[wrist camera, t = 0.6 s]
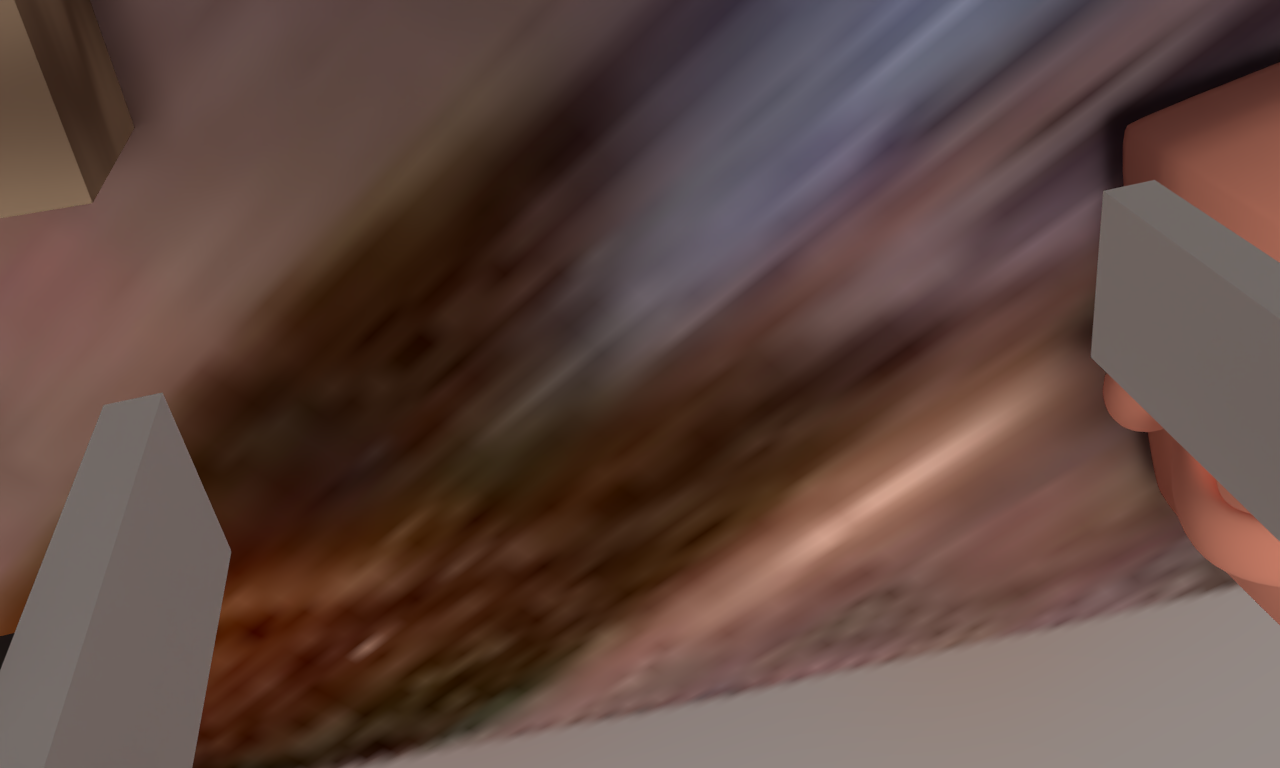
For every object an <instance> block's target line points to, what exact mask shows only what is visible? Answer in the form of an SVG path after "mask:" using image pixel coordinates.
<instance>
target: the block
mask: <svg viewBox="0 0 1280 768" xmlns="http://www.w3.org/2000/svg"><path fill="white" fill-rule="evenodd" d="M133 130H134V125H133V122H132V119H131V116H130V114H129V111H128V108H127V105H126V102H125V99H124V96H123V94H122V91H121V88H120V85H119V82H118V79H117V77H116V74H115V71H114V68H113V65H112V62H111V59H110V57H109V54H108V51H107V48H106V45H105V42H104V40H103V37H102V34H101V31H100V28H99V25H98V22H97V20H96V17H95V14H94V11H93V8H92V5H91V3H90V0H0V218H5V217H11V216H18V215H24V214H30V213H36V212H42V211H48V210H54V209H60V208H66V207H72V206H78V205H84V204H90V203H93V201H94V200H95V198H96V196H97V194H98V192H99V191H100V189H101V187H102V185H103V183H104V182H105V180H106V178H107V176H108V174H109V173H110V171H111V169H112V167H113V165H114V164H115V162H116V160H117V158H118V157H119V155H120V153H121V151H122V149H123V148H124V146H125V144H126V142H127V140H128V139H129V137H130V135H131V133H132V131H133Z"/></svg>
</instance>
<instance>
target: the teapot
mask: <svg viewBox="0 0 1280 768" xmlns="http://www.w3.org/2000/svg"><path fill="white" fill-rule="evenodd" d="M1152 180H1156V181H1157V182H1159V183H1160V184H1162V185H1163V186H1165V187H1166V188H1168V189H1169V190H1171V191H1172V192H1174V193H1175V194H1177V195H1178V196H1180V197H1181V198H1183V199H1184V200H1186V201H1187V202H1189V203H1190V204H1192V205H1193V206H1195V207H1196V208H1198V209H1199V210H1201V211H1202V212H1204V213H1205V214H1207V215H1208V216H1210V217H1211V218H1213V219H1214V220H1216V221H1217V222H1219V223H1220V224H1222V225H1223V226H1225V227H1226V228H1228V229H1229V230H1231V231H1233V232H1234V233H1236V234H1237V235H1239V236H1240V237H1242V238H1243V239H1245V240H1246V241H1248V242H1249V243H1251V244H1252V245H1254V246H1255V247H1257V248H1258V249H1260V250H1261V251H1263V252H1264V253H1266V254H1267V255H1269V256H1270V257H1272V258H1273V259H1275V260H1276V261H1278V262H1279V263H1280V62H1279V63H1276V64H1274V65H1271V66H1269V67H1266V68H1264V69H1261V70H1258V71H1256V72H1253V73H1251V74H1248V75H1246V76H1243V77H1241V78H1238V79H1236V80H1233V81H1231V82H1228V83H1226V84H1223V85H1221V86H1218V87H1216V88H1213V89H1211V90H1208V91H1206V92H1203V93H1201V94H1198V95H1196V96H1193V97H1190V98H1188V99H1186V100H1183V101H1181V102H1179V103H1176V104H1174V105H1171V106H1169V107H1167V108H1164V109H1162V110H1159V111H1157V112H1155V113H1152V114H1150V115H1147V116H1145V117H1143V118H1141V119H1139V120H1137V121H1135V122H1133V123H1131V124H1129V125H1127V127H1126V129H1125V132H1124V140H1123V185H1124V186H1128V185H1133V184H1138V183H1142V182H1147V181H1152ZM1103 397H1104V402H1105V405H1106V408H1107V410H1108V412H1109V414H1110V415H1111V417H1112V418H1113V419H1114V420H1115V421H1116V422H1118V423H1119V424H1120V425H1121V426H1123V427H1125V428H1127V429H1130V430H1133V431H1138V432H1148V438H1149V444H1150V449H1151V455H1152V461H1153V466H1154V472H1155V476H1156V480H1157V484H1158V487H1159V490H1160V492H1161V494H1162V495H1163V497H1164V498H1165V500H1166V501H1167V503H1168V504H1169V506H1170V507H1171V508H1172V510H1173V511H1174V512H1175V514H1176V515H1177V516H1178V518H1179V520H1180V523H1181V525H1182V527H1183V529H1184V532H1185V533H1186V535H1187V536H1188V538H1189V540H1190V541H1191V543H1192V544H1193V546H1194V547H1195V548H1196V549H1197V550H1198V551H1199V552H1200V553H1201V554H1202V555H1203V556H1204V557H1205V558H1206V559H1207V560H1208V561H1210V562H1211V563H1212V564H1213V565H1215V566H1217V567H1218V568H1220V569H1222V570H1224V571H1225V572H1227V573H1228V574H1229V575H1230V576H1231V577H1232V578H1233V579H1234V580H1235V581H1236V582H1237V583H1238V584H1239V585H1240V586H1241V587H1242V588H1243V589H1244V590H1245V591H1246V592H1247V593H1248V594H1249V595H1250V596H1251V597H1252V598H1253V599H1254V600H1255V601H1256V602H1257V603H1258V604H1259V605H1260V606H1261V607H1262V608H1263V609H1264V610H1265V611H1266V612H1267V613H1268V614H1269V615H1270V616H1271V617H1272V618H1273V619H1274V620H1275V621H1276V622H1277V623H1278V624H1279V625H1280V541H1279V540H1277V539H1276V538H1275V537H1274V536H1273V535H1272V534H1271V533H1270V532H1269V531H1268V530H1267V529H1266V528H1265V527H1264V526H1263V525H1262V524H1261V523H1260V522H1259V521H1258V520H1257V519H1256V518H1255V517H1254V516H1253V515H1252V514H1251V513H1250V512H1249V511H1248V510H1247V509H1246V508H1245V507H1244V506H1243V505H1242V504H1241V503H1240V502H1239V501H1238V500H1237V499H1236V498H1234V497H1233V496H1232V495H1231V494H1230V493H1229V492H1228V491H1227V490H1226V489H1225V488H1224V487H1223V486H1222V485H1221V484H1220V483H1219V482H1218V481H1217V480H1216V479H1215V478H1214V477H1213V476H1212V475H1211V474H1210V473H1209V472H1208V471H1207V470H1206V469H1205V468H1204V467H1203V466H1202V465H1201V464H1200V463H1199V462H1198V461H1197V460H1196V459H1195V458H1194V457H1192V456H1191V455H1190V454H1189V453H1188V452H1187V451H1186V450H1185V449H1184V448H1183V447H1182V446H1181V445H1180V444H1179V443H1178V442H1177V441H1176V440H1175V439H1174V438H1173V437H1172V436H1171V435H1170V434H1169V433H1168V432H1167V431H1166V430H1165V429H1164V428H1163V427H1162V426H1161V425H1160V424H1159V423H1158V422H1157V421H1156V420H1155V419H1154V418H1153V417H1152V416H1151V415H1149V414H1148V413H1147V412H1146V411H1145V410H1144V409H1143V408H1142V407H1141V406H1140V405H1139V404H1138V403H1137V402H1136V401H1135V400H1134V399H1133V398H1132V397H1131V396H1130V395H1129V394H1128V393H1127V392H1126V391H1125V390H1124V389H1123V388H1122V387H1121V386H1120V385H1119V384H1118V383H1117V382H1116V381H1115V380H1114V379H1113V378H1112V377H1111V376H1110V375H1109V374H1108V373H1106V375H1105V378H1104V385H1103Z"/></svg>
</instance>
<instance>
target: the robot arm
mask: <svg viewBox="0 0 1280 768" xmlns="http://www.w3.org/2000/svg"><path fill="white" fill-rule="evenodd" d="M1091 358H1092V359H1093V360H1094V361H1095V362H1096V363H1097V364H1098V365H1099V366H1100V367H1101V368H1102V369H1103V370H1104V371H1105V372H1106V373H1108V374H1109V375H1110V376H1111V377H1112V378H1113V379H1114V380H1115V381H1116V382H1117V383H1118V384H1119V385H1120V386H1121V387H1122V388H1123V389H1124V390H1125V391H1126V392H1127V393H1128V394H1129V395H1130V396H1131V397H1132V398H1133V399H1134V400H1135V401H1136V402H1137V403H1138V404H1139V405H1140V406H1141V407H1142V408H1143V409H1144V410H1145V411H1146V412H1147V413H1148V414H1149V415H1151V416H1152V417H1153V418H1154V419H1155V420H1156V421H1157V422H1158V423H1159V424H1160V425H1161V426H1162V427H1163V428H1164V429H1165V430H1166V431H1167V432H1168V433H1169V434H1170V435H1171V436H1172V437H1173V438H1174V439H1175V440H1176V441H1177V442H1178V443H1179V444H1180V445H1181V446H1182V447H1183V448H1184V449H1185V450H1186V451H1187V452H1188V453H1189V454H1190V455H1191V456H1192V457H1194V458H1195V459H1196V460H1197V461H1198V462H1199V463H1200V464H1201V465H1202V466H1203V467H1204V468H1205V469H1206V470H1207V471H1208V472H1209V473H1210V474H1211V475H1212V476H1213V477H1214V478H1215V479H1216V480H1217V481H1218V482H1219V483H1220V484H1221V485H1222V486H1223V487H1224V488H1225V489H1226V490H1227V491H1228V492H1229V493H1230V494H1231V495H1232V496H1233V497H1234V498H1236V499H1237V500H1238V501H1239V502H1240V503H1241V504H1242V505H1243V506H1244V507H1245V508H1246V509H1247V510H1248V511H1249V512H1250V513H1251V514H1252V515H1253V516H1254V517H1255V518H1256V519H1257V520H1258V521H1259V522H1260V523H1261V524H1262V525H1263V526H1264V527H1265V528H1266V529H1267V530H1268V531H1269V532H1270V533H1271V534H1272V535H1273V536H1274V537H1275V538H1276V539H1277V540H1279V541H1280V263H1279V262H1278V261H1276V260H1275V259H1273V258H1272V257H1270V256H1269V255H1267V254H1266V253H1264V252H1263V251H1261V250H1260V249H1258V248H1257V247H1255V246H1254V245H1252V244H1251V243H1249V242H1248V241H1246V240H1245V239H1243V238H1242V237H1240V236H1239V235H1237V234H1236V233H1234V232H1233V231H1231V230H1229V229H1228V228H1226V227H1225V226H1223V225H1222V224H1220V223H1219V222H1217V221H1216V220H1214V219H1213V218H1211V217H1210V216H1208V215H1207V214H1205V213H1204V212H1202V211H1201V210H1199V209H1198V208H1196V207H1195V206H1193V205H1192V204H1190V203H1189V202H1187V201H1186V200H1184V199H1183V198H1181V197H1180V196H1178V195H1177V194H1175V193H1174V192H1172V191H1171V190H1169V189H1168V188H1166V187H1165V186H1163V185H1162V184H1160V183H1159V182H1157V181H1156V180H1152V181H1147V182H1142V183H1138V184H1133V185H1128V186H1124V187H1119V188H1114V189H1110V190H1105V191H1103V201H1102V214H1101V227H1100V241H1099V254H1098V267H1097V280H1096V293H1095V306H1094V320H1093V333H1092V346H1091ZM230 555H231V550H230V547H229V545H228V543H227V540H226V538H225V536H224V534H223V531H222V529H221V527H220V524H219V522H218V520H217V517H216V515H215V513H214V510H213V508H212V506H211V504H210V501H209V499H208V497H207V494H206V492H205V490H204V487H203V485H202V483H201V481H200V478H199V476H198V474H197V471H196V469H195V467H194V464H193V462H192V460H191V457H190V455H189V453H188V451H187V448H186V446H185V444H184V441H183V439H182V437H181V434H180V432H179V430H178V427H177V425H176V423H175V421H174V418H173V416H172V414H171V411H170V409H169V407H168V404H167V402H166V400H165V397H164V395H163V393H159V394H154V395H149V396H145V397H140V398H135V399H131V400H126V401H121V402H117V403H112V404H107V405H104V406H103V408H102V411H101V413H100V416H99V419H98V421H97V424H96V426H95V429H94V431H93V434H92V436H91V439H90V442H89V444H88V447H87V449H86V452H85V454H84V457H83V460H82V462H81V465H80V467H79V470H78V472H77V475H76V477H75V480H74V483H73V485H72V488H71V490H70V493H69V495H68V498H67V500H66V503H65V506H64V508H63V511H62V513H61V516H60V518H59V521H58V524H57V526H56V529H55V531H54V534H53V536H52V539H51V541H50V544H49V547H48V549H47V552H46V554H45V557H44V559H43V562H42V564H41V567H40V570H39V572H38V575H37V577H36V580H35V582H34V585H33V588H32V590H31V593H30V595H29V598H28V600H27V603H26V605H25V608H24V611H23V613H22V616H21V618H20V621H19V623H18V626H17V628H16V631H15V633H13V634H9V635H5V636H0V768H192V765H193V760H194V754H195V749H196V743H197V738H198V732H199V727H200V721H201V715H202V710H203V704H204V699H205V693H206V688H207V682H208V677H209V671H210V666H211V660H212V655H213V649H214V644H215V638H216V632H217V627H218V621H219V616H220V610H221V605H222V599H223V594H224V588H225V583H226V577H227V572H228V566H229V560H230Z"/></svg>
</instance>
